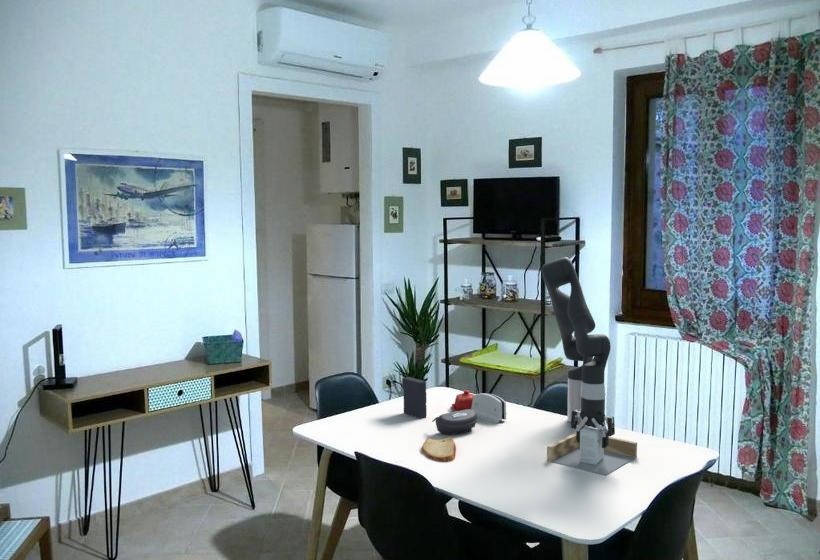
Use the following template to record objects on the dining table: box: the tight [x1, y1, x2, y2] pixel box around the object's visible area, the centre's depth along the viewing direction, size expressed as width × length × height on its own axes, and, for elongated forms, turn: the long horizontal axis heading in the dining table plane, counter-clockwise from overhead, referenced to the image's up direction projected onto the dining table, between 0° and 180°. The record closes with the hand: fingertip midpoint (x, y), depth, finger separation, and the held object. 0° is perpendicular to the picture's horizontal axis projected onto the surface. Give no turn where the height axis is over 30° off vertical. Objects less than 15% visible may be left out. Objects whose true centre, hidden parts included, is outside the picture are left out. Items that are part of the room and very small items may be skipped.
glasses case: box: [431, 409, 479, 435], centre depth 256 cm, size 18×10×8 cm, turn 124°
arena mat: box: [550, 447, 636, 477], centre depth 225 cm, size 21×19×1 cm
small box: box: [580, 426, 604, 465], centre depth 223 cm, size 8×6×10 cm
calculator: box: [401, 376, 428, 420], centre depth 278 cm, size 11×4×15 cm, turn 39°
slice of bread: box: [421, 436, 457, 463], centre depth 234 cm, size 18×18×4 cm
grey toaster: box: [471, 392, 507, 424], centre depth 274 cm, size 17×5×10 cm, turn 38°
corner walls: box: [546, 432, 638, 463], centre depth 225 cm, size 22×20×5 cm
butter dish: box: [451, 389, 475, 412], centre depth 287 cm, size 12×12×8 cm
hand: (592, 444), depth 223 cm, fingers open, 8 cm apart
